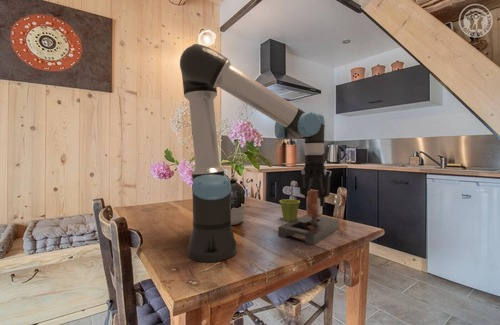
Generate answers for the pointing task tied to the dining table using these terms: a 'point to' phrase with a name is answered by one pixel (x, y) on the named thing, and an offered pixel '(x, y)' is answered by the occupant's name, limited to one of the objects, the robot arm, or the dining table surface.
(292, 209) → the plant pot
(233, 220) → the teacup
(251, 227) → the dining table surface
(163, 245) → the dining table surface
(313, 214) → the peg
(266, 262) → the dining table surface
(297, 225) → the slot bracket
